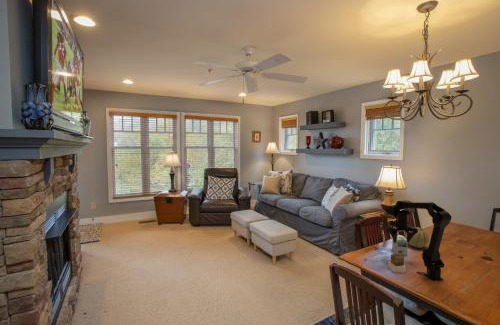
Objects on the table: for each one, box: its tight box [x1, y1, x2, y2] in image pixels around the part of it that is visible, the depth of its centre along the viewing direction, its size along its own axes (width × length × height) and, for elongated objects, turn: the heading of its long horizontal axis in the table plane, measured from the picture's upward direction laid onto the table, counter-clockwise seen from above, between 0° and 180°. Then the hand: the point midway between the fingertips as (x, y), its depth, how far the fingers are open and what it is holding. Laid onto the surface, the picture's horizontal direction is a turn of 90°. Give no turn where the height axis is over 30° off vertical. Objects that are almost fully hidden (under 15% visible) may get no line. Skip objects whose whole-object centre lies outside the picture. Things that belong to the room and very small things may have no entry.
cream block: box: [387, 260, 407, 274], centre depth 155 cm, size 7×7×4 cm
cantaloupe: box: [405, 226, 430, 249], centre depth 188 cm, size 15×15×15 cm
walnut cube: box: [390, 253, 405, 266], centre depth 155 cm, size 5×5×5 cm
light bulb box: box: [391, 234, 409, 256], centre depth 180 cm, size 11×7×11 cm, turn 168°
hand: (401, 242), depth 166 cm, fingers open, 9 cm apart
